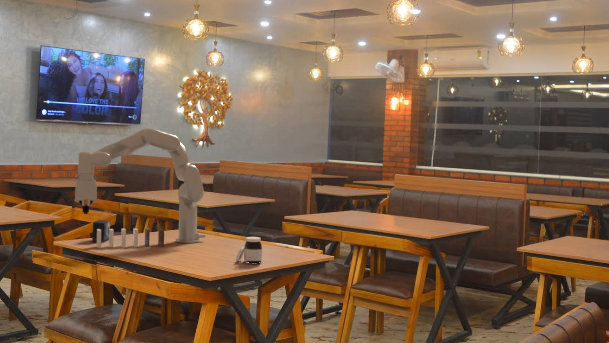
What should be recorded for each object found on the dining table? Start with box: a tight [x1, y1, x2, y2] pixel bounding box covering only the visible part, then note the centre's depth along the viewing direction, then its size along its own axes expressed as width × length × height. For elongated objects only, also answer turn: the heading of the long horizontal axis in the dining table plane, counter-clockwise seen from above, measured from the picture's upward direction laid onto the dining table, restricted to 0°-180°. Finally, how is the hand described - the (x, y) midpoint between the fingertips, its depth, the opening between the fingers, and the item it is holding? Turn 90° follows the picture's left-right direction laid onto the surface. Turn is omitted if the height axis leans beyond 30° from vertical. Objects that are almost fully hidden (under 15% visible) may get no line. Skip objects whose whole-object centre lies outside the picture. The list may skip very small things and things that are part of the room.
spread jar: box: [235, 236, 263, 263], centre depth 331 cm, size 12×11×12 cm
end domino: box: [144, 227, 151, 248], centre depth 368 cm, size 2×5×9 cm, turn 20°
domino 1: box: [96, 229, 102, 249], centre depth 359 cm, size 2×5×9 cm, turn 21°
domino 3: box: [120, 228, 127, 248], centre depth 363 cm, size 2×5×9 cm, turn 21°
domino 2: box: [108, 228, 115, 248], centre depth 361 cm, size 2×5×9 cm, turn 21°
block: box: [157, 228, 165, 248], centre depth 370 cm, size 2×8×8 cm, turn 21°
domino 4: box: [132, 227, 139, 248], centre depth 366 cm, size 2×5×9 cm, turn 21°
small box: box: [91, 219, 111, 243], centre depth 379 cm, size 11×6×10 cm, turn 179°
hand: (85, 213), depth 356 cm, fingers closed
